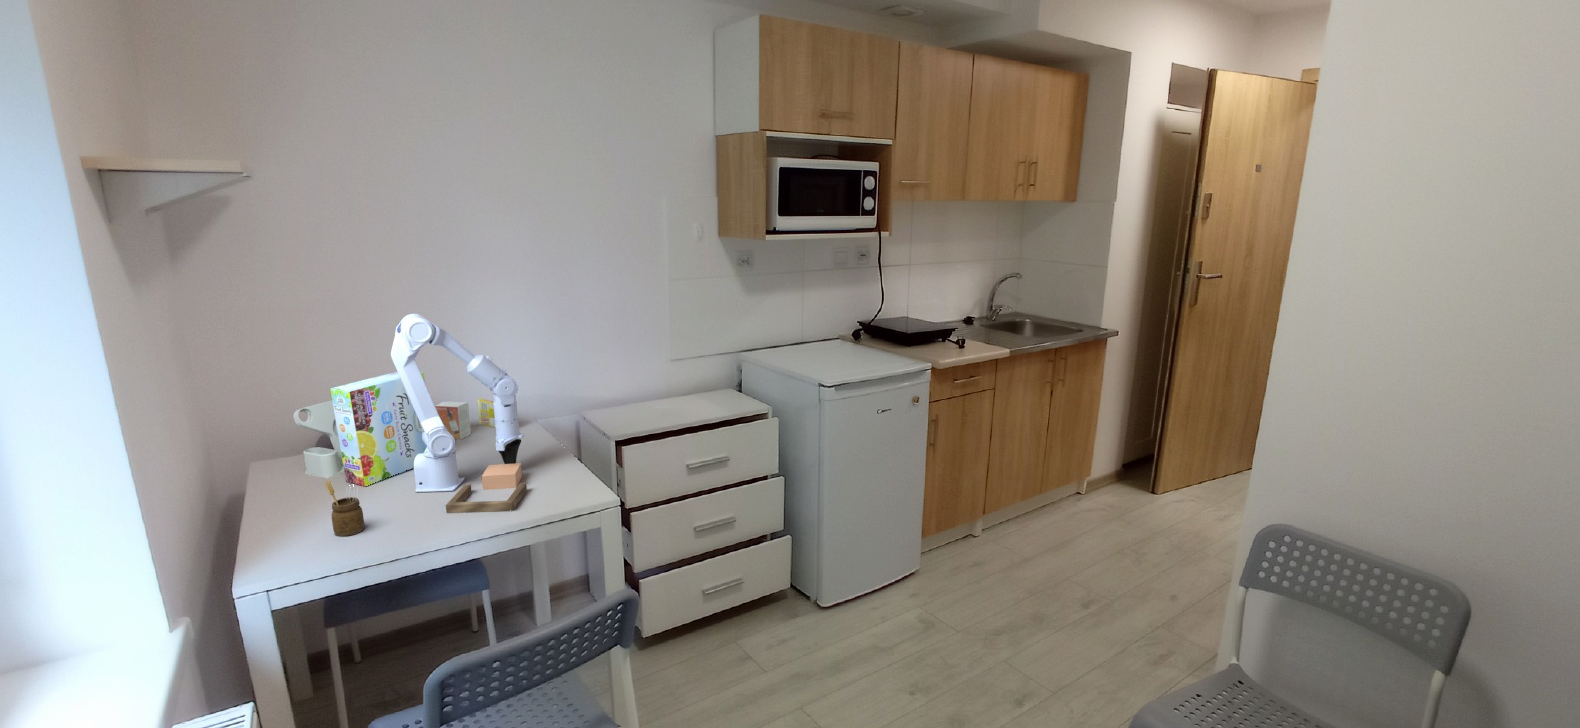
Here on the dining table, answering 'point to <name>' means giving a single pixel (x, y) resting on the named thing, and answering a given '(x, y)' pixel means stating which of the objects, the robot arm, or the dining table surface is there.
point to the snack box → (376, 428)
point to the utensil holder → (346, 514)
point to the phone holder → (318, 458)
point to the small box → (455, 418)
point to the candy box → (486, 412)
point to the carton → (501, 476)
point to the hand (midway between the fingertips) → (510, 467)
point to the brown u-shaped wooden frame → (484, 506)
